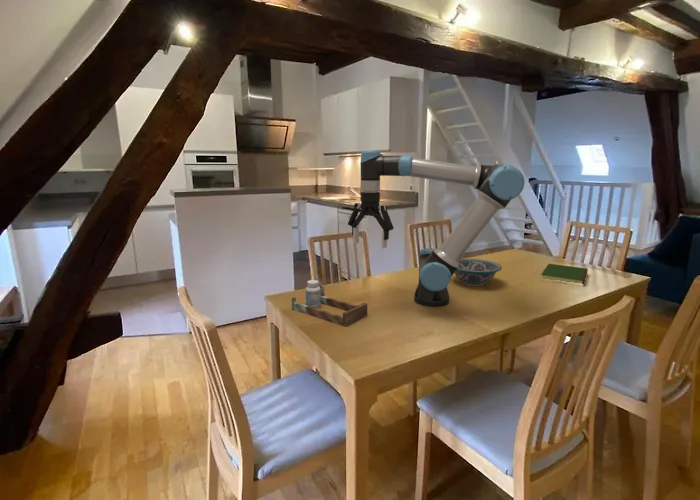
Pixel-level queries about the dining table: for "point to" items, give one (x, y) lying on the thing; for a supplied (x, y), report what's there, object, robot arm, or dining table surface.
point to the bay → (348, 317)
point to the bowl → (476, 271)
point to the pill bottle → (313, 294)
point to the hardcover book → (565, 273)
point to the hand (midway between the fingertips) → (369, 245)
